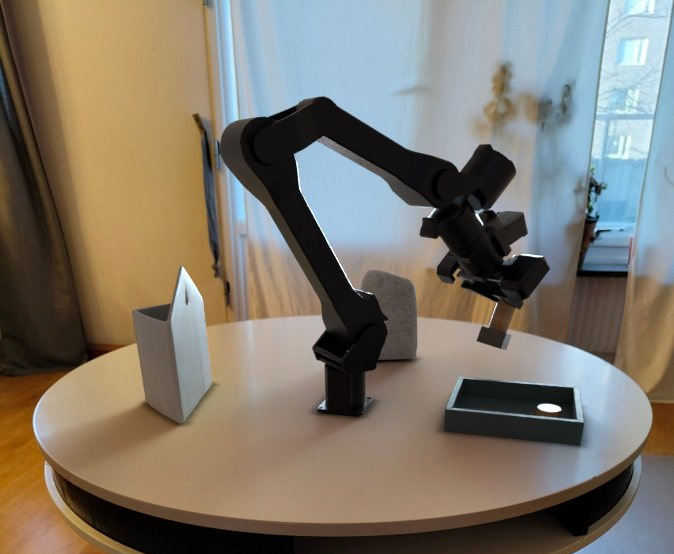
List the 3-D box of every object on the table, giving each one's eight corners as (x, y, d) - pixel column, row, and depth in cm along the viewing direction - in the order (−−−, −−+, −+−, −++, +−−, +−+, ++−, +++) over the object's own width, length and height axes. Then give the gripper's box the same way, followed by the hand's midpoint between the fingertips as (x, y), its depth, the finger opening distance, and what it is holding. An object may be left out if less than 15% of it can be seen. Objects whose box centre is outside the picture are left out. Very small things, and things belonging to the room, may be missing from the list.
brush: (500, 349, 94) (534, 257, 91) (476, 341, 95) (508, 250, 92) (506, 350, 100) (537, 264, 96) (482, 342, 101) (513, 257, 97)
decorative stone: (416, 353, 111) (420, 268, 105) (417, 363, 106) (421, 274, 99) (356, 352, 112) (356, 268, 106) (354, 362, 107) (354, 274, 100)
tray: (580, 445, 74) (584, 422, 73) (443, 430, 79) (445, 409, 78) (576, 406, 86) (579, 386, 85) (457, 395, 91) (458, 376, 89)
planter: (163, 383, 97) (145, 257, 89) (212, 384, 97) (199, 257, 89) (125, 423, 83) (100, 276, 74) (183, 424, 82) (164, 276, 74)
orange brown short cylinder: (556, 428, 78) (559, 413, 77) (533, 424, 79) (534, 409, 78) (561, 420, 80) (563, 405, 80) (537, 416, 82) (539, 402, 81)
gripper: (550, 193, 80) (592, 272, 90) (456, 189, 94) (501, 258, 104) (499, 260, 80) (547, 333, 89) (412, 246, 94) (462, 309, 104)
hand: (513, 305), depth 97 cm, fingers closed on brush, 3 cm apart
